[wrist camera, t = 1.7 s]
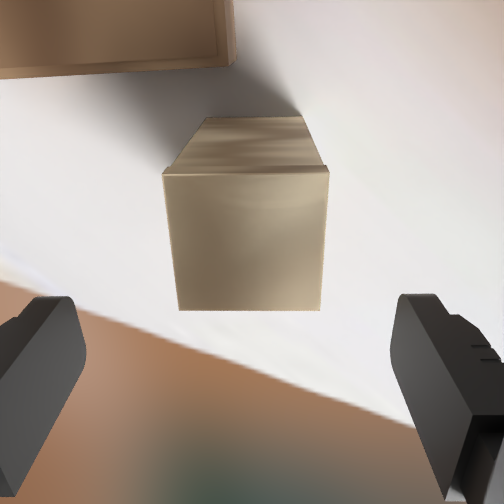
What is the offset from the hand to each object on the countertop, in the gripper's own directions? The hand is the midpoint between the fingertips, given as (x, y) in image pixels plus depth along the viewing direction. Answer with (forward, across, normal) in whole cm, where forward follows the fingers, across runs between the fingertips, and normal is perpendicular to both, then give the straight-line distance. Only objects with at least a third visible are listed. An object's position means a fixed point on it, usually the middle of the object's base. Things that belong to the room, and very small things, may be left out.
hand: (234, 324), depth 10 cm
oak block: (+14, 0, 0) cm, 14 cm away
